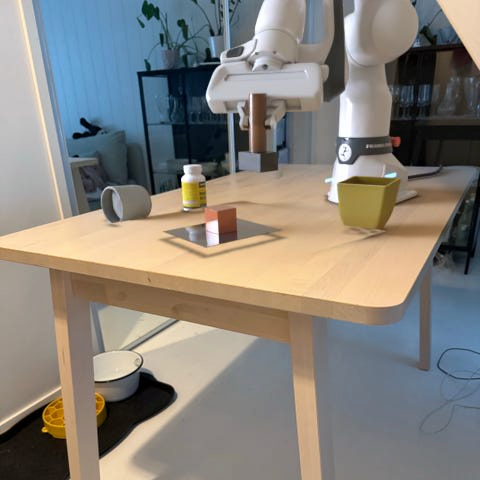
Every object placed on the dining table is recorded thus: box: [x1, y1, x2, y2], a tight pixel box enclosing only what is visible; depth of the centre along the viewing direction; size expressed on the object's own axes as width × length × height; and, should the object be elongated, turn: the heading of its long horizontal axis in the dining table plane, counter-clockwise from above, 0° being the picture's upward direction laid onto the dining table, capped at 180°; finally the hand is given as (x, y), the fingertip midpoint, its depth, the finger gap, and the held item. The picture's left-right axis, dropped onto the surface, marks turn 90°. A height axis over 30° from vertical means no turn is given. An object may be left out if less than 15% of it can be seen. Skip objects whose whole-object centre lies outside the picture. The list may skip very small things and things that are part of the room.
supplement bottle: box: [181, 163, 208, 211], centre depth 104 cm, size 5×5×10 cm
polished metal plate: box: [162, 217, 282, 249], centre depth 82 cm, size 16×14×2 cm
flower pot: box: [337, 176, 401, 231], centre depth 81 cm, size 9×9×9 cm
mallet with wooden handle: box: [237, 93, 279, 174], centre depth 78 cm, size 4×6×12 cm, turn 37°
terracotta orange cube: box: [204, 204, 238, 234], centre depth 80 cm, size 4×4×4 cm
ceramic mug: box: [100, 184, 153, 224], centre depth 96 cm, size 11×8×8 cm
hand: (256, 127), depth 77 cm, fingers closed on mallet with wooden handle, 3 cm apart
